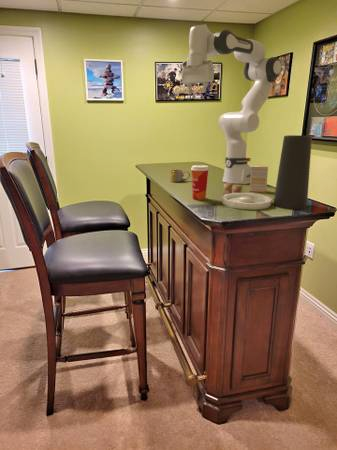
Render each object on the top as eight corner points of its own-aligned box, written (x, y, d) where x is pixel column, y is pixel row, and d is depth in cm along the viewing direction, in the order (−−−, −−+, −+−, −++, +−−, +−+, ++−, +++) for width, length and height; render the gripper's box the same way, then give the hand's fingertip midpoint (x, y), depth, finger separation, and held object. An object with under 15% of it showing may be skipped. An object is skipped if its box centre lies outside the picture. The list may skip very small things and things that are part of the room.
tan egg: (227, 192, 168) (228, 183, 167) (233, 194, 165) (234, 184, 164) (221, 193, 166) (222, 183, 165) (227, 195, 163) (228, 185, 161)
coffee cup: (188, 196, 160) (189, 165, 155) (206, 196, 160) (207, 164, 156) (191, 200, 152) (192, 167, 147) (209, 200, 153) (210, 167, 148)
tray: (244, 196, 161) (245, 191, 161) (281, 204, 145) (281, 199, 144) (212, 202, 150) (212, 196, 149) (248, 212, 134) (248, 206, 133)
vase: (288, 210, 136) (297, 137, 127) (266, 203, 148) (273, 135, 139) (313, 207, 141) (323, 136, 132) (290, 200, 153) (298, 134, 144)
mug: (171, 182, 195) (171, 171, 193) (169, 180, 202) (169, 169, 200) (191, 182, 197) (191, 170, 195) (189, 180, 203) (189, 169, 201)
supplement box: (266, 191, 172) (268, 165, 168) (265, 193, 168) (268, 166, 164) (249, 190, 175) (251, 164, 171) (248, 191, 171) (250, 166, 167)
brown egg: (236, 195, 164) (237, 184, 162) (242, 196, 161) (243, 186, 159) (230, 196, 162) (230, 185, 160) (236, 197, 158) (237, 187, 157)
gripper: (217, 60, 155) (216, 92, 160) (189, 65, 171) (188, 94, 175) (207, 58, 152) (206, 91, 156) (179, 64, 167) (179, 93, 172)
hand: (196, 93), depth 166 cm, fingers open, 8 cm apart
